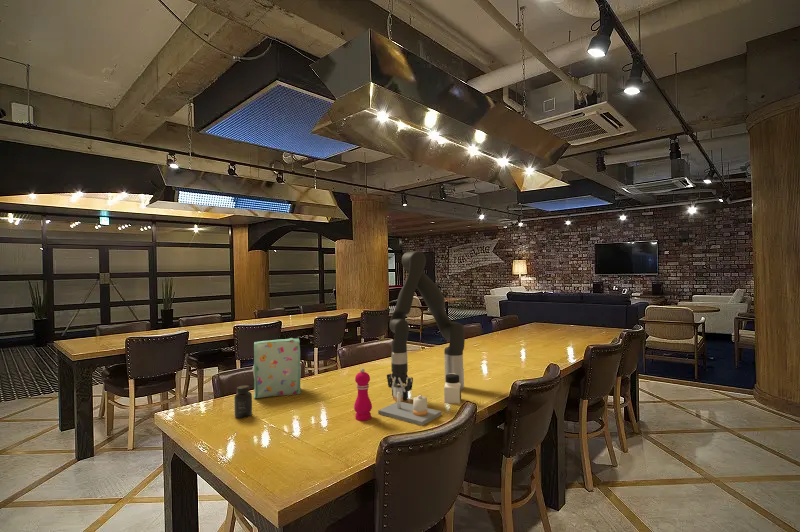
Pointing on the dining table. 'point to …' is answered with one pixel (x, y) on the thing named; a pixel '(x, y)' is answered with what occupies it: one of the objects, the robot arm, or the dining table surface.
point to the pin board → (411, 411)
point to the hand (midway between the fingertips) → (400, 398)
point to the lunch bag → (276, 368)
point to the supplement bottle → (243, 402)
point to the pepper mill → (362, 397)
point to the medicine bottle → (452, 389)
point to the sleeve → (398, 389)
